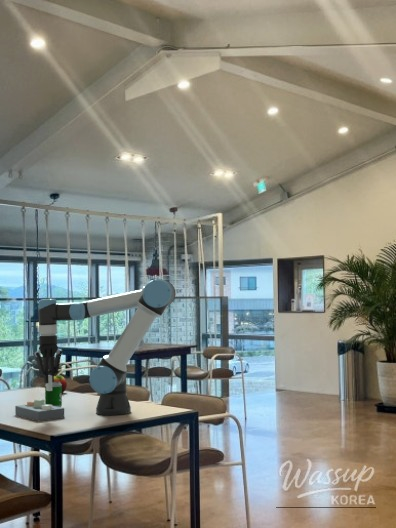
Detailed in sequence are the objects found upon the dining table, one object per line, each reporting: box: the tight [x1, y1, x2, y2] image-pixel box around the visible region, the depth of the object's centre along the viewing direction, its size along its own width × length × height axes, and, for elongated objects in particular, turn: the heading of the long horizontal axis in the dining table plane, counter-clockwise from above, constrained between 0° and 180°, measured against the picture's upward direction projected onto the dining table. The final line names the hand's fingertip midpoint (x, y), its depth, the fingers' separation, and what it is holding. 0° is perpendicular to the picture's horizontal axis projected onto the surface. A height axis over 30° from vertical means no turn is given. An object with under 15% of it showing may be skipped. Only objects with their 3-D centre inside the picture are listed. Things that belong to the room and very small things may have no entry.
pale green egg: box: [33, 398, 45, 408], centre depth 283 cm, size 4×4×5 cm
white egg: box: [42, 405, 52, 410], centre depth 278 cm, size 4×4×5 cm
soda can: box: [44, 382, 63, 408], centre depth 305 cm, size 8×8×12 cm
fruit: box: [54, 374, 68, 394], centre depth 359 cm, size 11×11×10 cm
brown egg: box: [26, 400, 34, 407], centre depth 288 cm, size 4×4×5 cm
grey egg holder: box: [14, 404, 65, 422], centre depth 283 cm, size 22×12×4 cm, turn 40°
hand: (49, 390), depth 279 cm, fingers closed
